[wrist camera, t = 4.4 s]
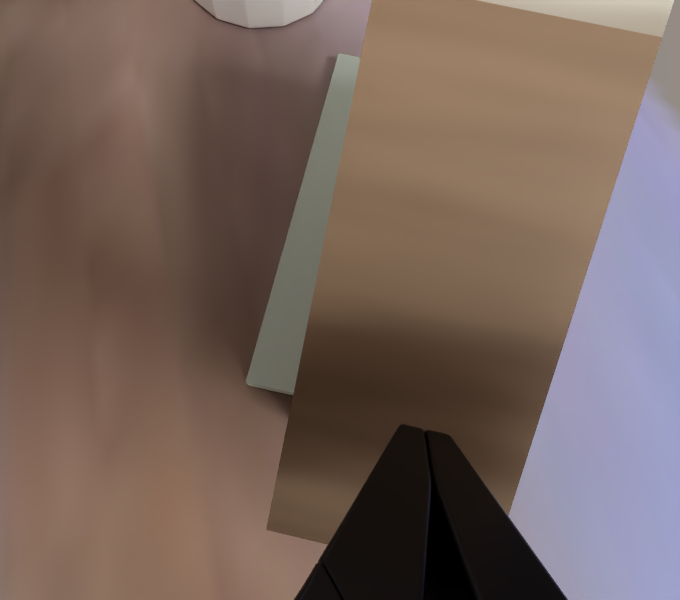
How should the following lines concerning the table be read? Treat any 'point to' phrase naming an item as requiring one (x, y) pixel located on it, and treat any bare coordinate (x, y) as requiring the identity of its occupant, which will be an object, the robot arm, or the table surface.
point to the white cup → (260, 11)
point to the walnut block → (459, 234)
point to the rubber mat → (304, 243)
